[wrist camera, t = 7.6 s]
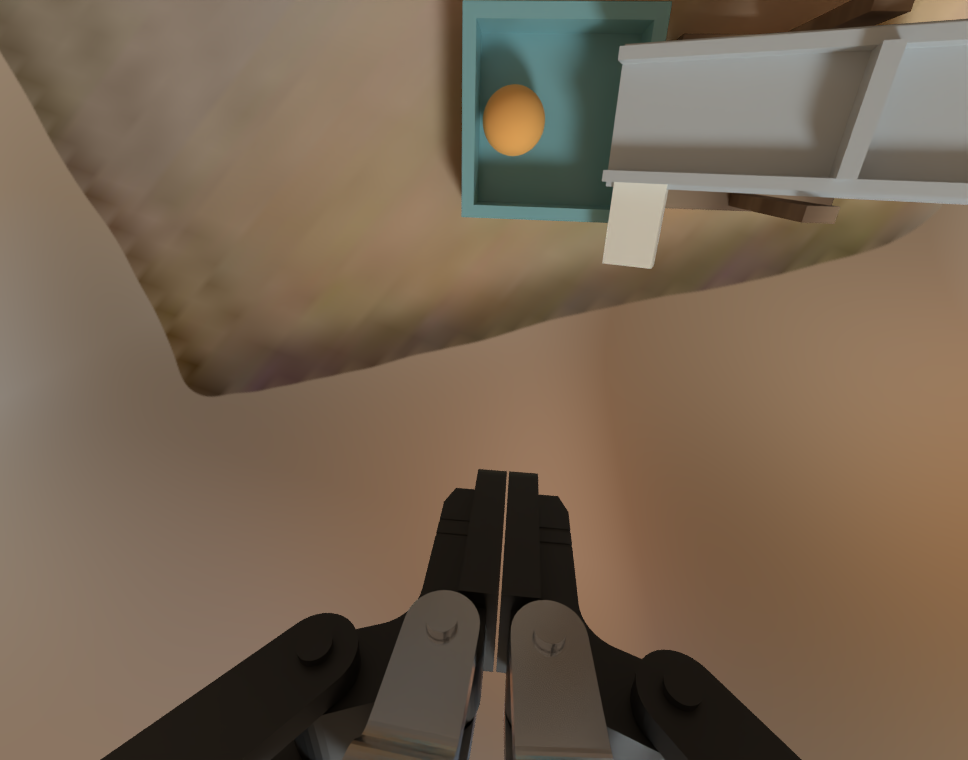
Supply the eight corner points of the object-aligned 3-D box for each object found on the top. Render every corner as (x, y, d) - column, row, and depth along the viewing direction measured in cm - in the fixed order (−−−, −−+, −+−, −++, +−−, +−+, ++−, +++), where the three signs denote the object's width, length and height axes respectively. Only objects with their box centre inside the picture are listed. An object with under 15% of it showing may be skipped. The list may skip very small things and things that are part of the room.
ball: (540, 90, 30) (480, 87, 29) (554, 80, 26) (486, 77, 26) (535, 157, 31) (479, 155, 31) (548, 157, 28) (484, 155, 28)
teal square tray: (471, 20, 29) (462, 0, 25) (654, 21, 28) (672, 1, 24) (468, 210, 34) (461, 216, 30) (623, 216, 33) (634, 223, 30)
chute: (980, 53, 24) (1108, -5, 16) (887, 271, 29) (947, 311, 21) (647, 70, 30) (617, 35, 22) (620, 244, 35) (587, 267, 27)
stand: (879, 39, 27) (1059, -23, 18) (820, 212, 32) (940, 234, 23) (678, 37, 28) (752, -23, 19) (648, 206, 33) (696, 224, 23)
